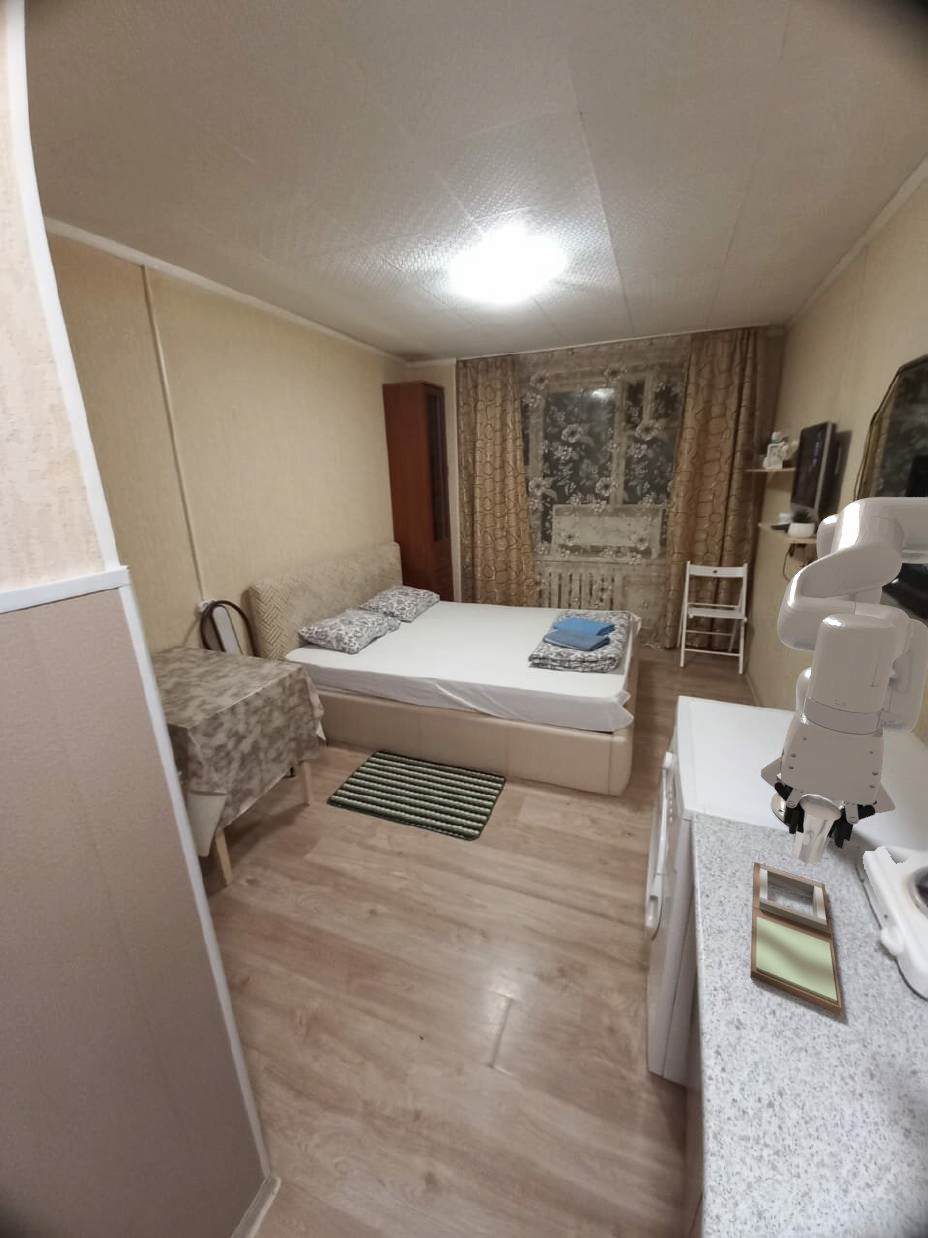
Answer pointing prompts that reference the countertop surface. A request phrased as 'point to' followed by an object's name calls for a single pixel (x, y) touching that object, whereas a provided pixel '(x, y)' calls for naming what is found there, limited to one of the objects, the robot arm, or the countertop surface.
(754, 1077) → the countertop surface
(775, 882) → the board
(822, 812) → the milkshake
